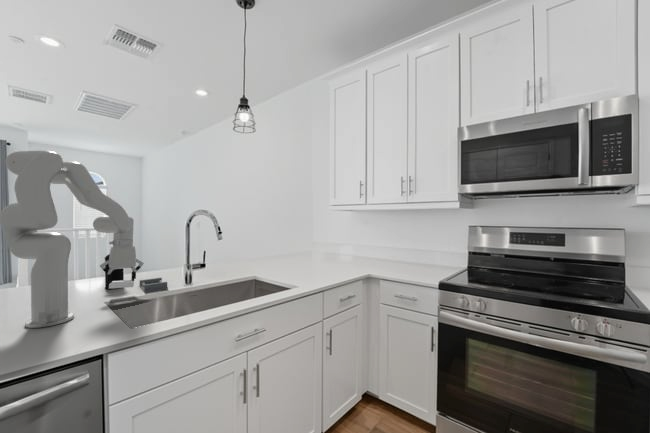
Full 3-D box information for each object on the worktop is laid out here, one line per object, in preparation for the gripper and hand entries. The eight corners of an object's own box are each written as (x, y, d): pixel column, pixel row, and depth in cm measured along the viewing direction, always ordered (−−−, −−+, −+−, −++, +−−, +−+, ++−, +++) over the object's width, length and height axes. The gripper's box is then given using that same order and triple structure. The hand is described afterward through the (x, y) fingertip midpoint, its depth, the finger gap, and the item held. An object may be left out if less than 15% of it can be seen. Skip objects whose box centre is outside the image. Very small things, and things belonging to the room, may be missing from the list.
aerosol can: (100, 289, 148) (100, 249, 147) (116, 285, 155) (116, 247, 155) (112, 290, 145) (112, 250, 145) (128, 286, 153) (127, 248, 153)
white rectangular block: (110, 286, 134) (110, 281, 134) (133, 285, 138) (133, 279, 138) (108, 288, 130) (109, 282, 130) (132, 286, 134) (133, 281, 134)
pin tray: (167, 289, 147) (167, 282, 147) (144, 292, 140) (144, 285, 140) (160, 283, 159) (160, 277, 159) (139, 286, 152) (139, 279, 152)
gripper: (99, 244, 126) (98, 285, 126) (146, 243, 138) (145, 280, 137) (98, 243, 132) (97, 282, 131) (143, 242, 143) (142, 278, 143)
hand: (121, 281), depth 134 cm, fingers closed on white rectangular block, 8 cm apart
